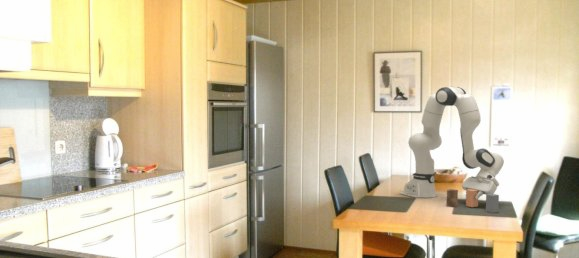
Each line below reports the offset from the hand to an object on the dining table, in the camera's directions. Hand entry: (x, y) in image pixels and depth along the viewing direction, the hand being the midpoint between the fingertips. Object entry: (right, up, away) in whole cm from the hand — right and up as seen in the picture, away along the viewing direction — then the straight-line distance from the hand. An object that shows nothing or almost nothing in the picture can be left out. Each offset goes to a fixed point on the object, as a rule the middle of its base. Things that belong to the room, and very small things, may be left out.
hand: (471, 197), depth 280 cm
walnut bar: (-10, -5, +3) cm, 11 cm away
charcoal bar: (+7, -6, -12) cm, 15 cm away
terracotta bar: (+1, -5, +1) cm, 5 cm away
